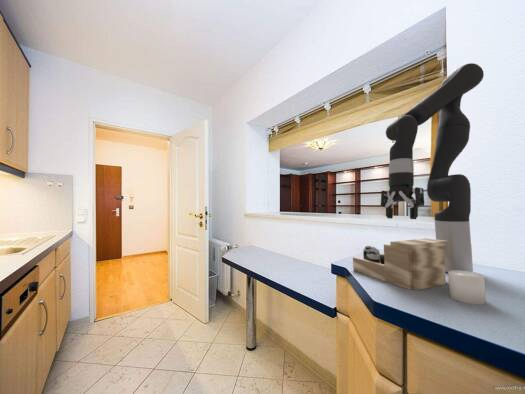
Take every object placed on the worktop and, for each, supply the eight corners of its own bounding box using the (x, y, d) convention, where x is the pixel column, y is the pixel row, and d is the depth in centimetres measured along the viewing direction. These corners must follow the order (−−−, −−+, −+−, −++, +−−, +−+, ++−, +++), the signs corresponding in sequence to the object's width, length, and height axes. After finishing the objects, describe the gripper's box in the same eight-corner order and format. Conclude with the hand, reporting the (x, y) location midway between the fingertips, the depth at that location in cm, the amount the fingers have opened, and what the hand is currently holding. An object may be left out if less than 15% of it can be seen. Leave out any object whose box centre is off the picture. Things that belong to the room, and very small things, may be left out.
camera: (397, 277, 70) (395, 248, 71) (371, 275, 72) (369, 247, 73) (382, 269, 83) (381, 245, 84) (360, 268, 84) (359, 244, 86)
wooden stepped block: (385, 265, 84) (383, 233, 85) (450, 282, 64) (448, 240, 65) (352, 270, 78) (351, 236, 79) (413, 291, 58) (411, 244, 59)
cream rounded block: (459, 292, 57) (457, 269, 57) (492, 302, 51) (490, 275, 51) (443, 296, 55) (442, 272, 55) (476, 306, 49) (474, 279, 49)
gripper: (429, 171, 73) (429, 220, 71) (390, 177, 86) (389, 218, 84) (414, 168, 70) (414, 219, 68) (376, 175, 83) (375, 217, 82)
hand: (400, 218), depth 76 cm, fingers open, 8 cm apart
